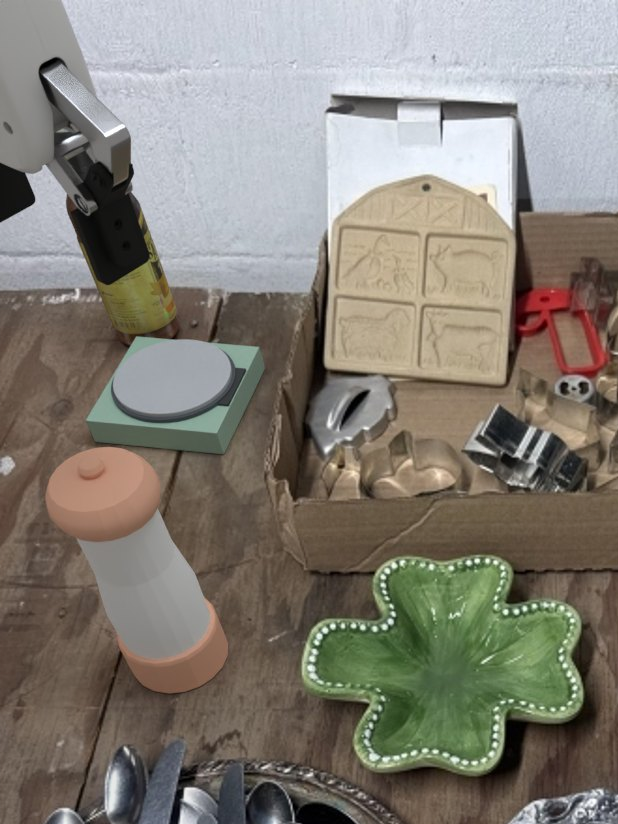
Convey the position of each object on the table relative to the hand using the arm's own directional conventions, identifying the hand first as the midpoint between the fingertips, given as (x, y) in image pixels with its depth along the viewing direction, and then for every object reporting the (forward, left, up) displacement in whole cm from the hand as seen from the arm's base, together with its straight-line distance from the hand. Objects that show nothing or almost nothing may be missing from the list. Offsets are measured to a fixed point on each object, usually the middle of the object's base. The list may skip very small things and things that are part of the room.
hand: (66, 241), depth 59 cm
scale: (-11, +23, -30) cm, 40 cm away
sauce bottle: (-18, +33, -31) cm, 48 cm away
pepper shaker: (-1, -5, -31) cm, 31 cm away
